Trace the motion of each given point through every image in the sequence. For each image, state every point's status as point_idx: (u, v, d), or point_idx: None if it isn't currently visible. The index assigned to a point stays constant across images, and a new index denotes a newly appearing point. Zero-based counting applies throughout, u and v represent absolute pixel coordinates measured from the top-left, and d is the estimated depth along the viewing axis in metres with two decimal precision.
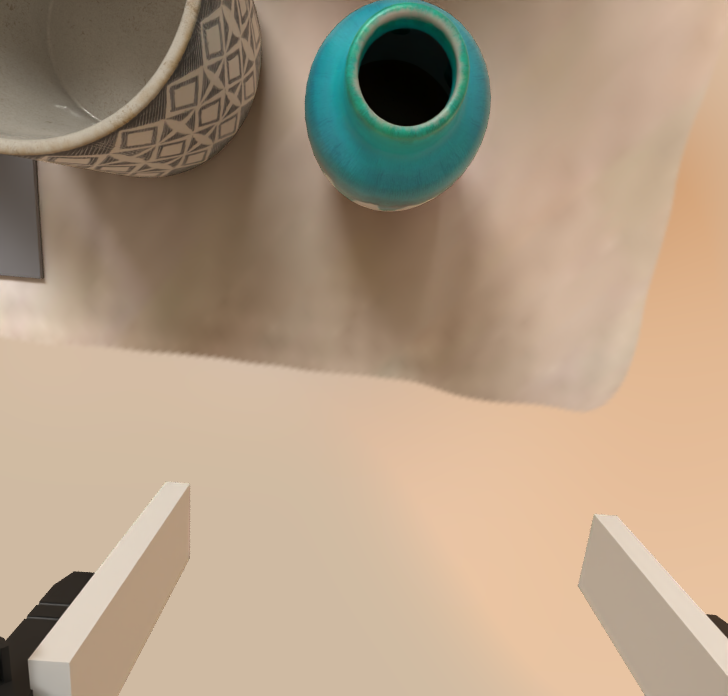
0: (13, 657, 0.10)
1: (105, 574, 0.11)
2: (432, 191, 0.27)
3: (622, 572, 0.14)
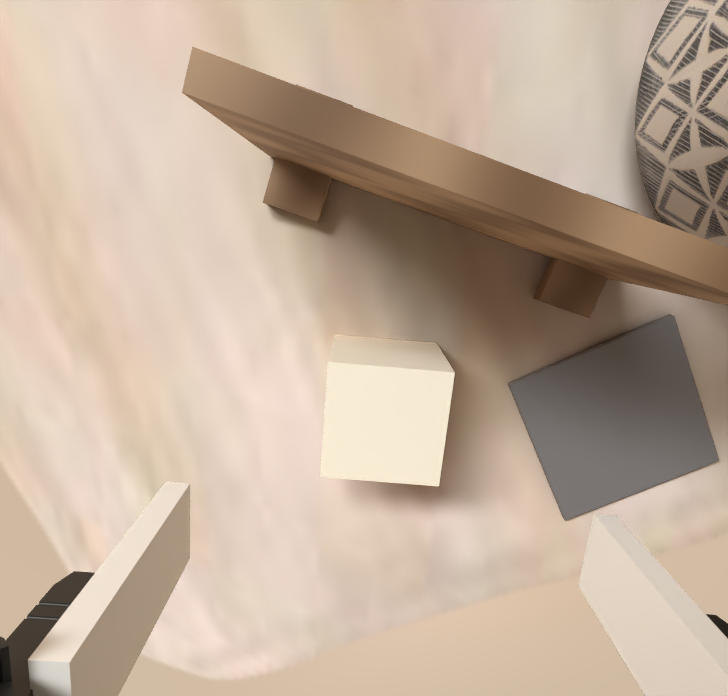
0: (14, 657, 0.10)
1: (105, 574, 0.11)
2: None
3: (622, 572, 0.14)
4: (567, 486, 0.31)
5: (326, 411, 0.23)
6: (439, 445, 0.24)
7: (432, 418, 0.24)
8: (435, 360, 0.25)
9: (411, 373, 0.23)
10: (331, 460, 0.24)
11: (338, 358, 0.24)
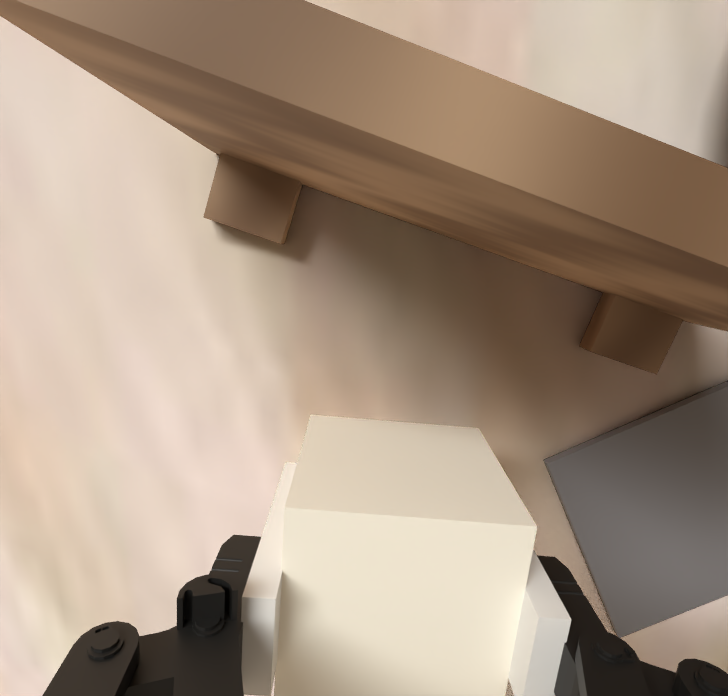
0: None
1: (271, 535, 0.13)
2: None
3: None
4: (622, 594, 0.23)
5: (283, 597, 0.12)
6: (502, 657, 0.12)
7: (490, 611, 0.12)
8: (489, 484, 0.13)
9: (451, 529, 0.12)
10: (294, 683, 0.13)
11: (306, 493, 0.12)
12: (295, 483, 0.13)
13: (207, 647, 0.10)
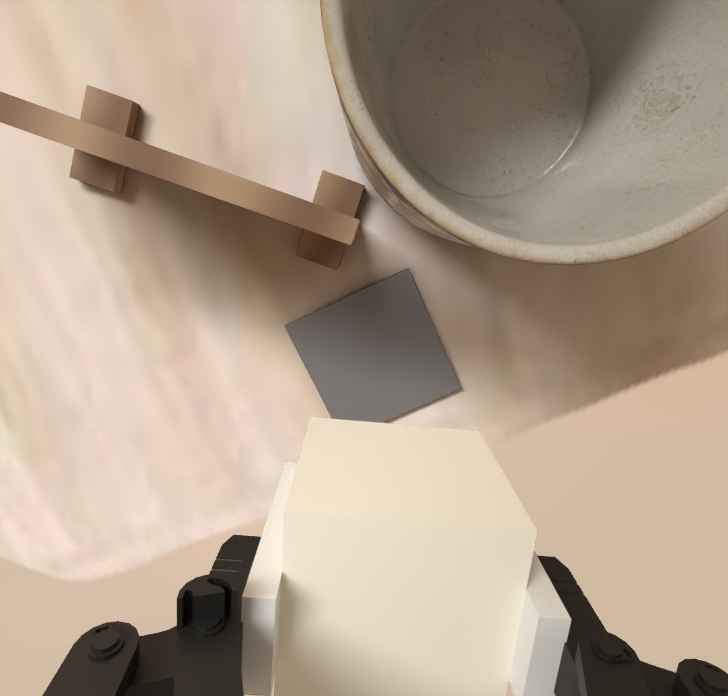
0: None
1: (271, 534, 0.13)
2: None
3: None
4: (341, 410, 0.38)
5: (283, 601, 0.12)
6: (503, 661, 0.12)
7: (491, 614, 0.12)
8: (489, 487, 0.13)
9: (451, 533, 0.12)
10: (294, 687, 0.13)
11: (306, 497, 0.12)
12: (295, 487, 0.13)
13: (207, 647, 0.10)
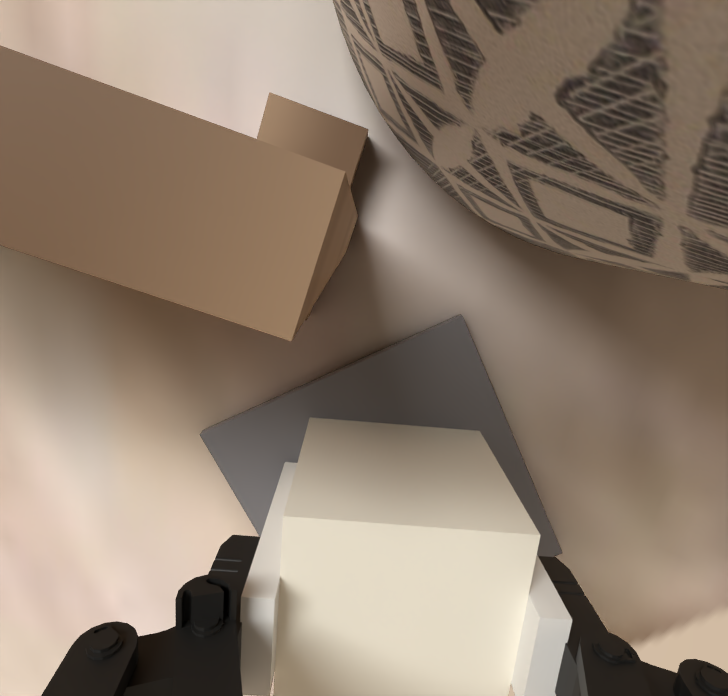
0: None
1: (270, 535, 0.13)
2: None
3: None
4: None
5: (282, 606, 0.12)
6: (504, 666, 0.12)
7: (492, 619, 0.12)
8: (491, 490, 0.13)
9: (452, 538, 0.11)
10: (294, 692, 0.12)
11: (305, 500, 0.12)
12: (294, 490, 0.12)
13: (206, 647, 0.10)
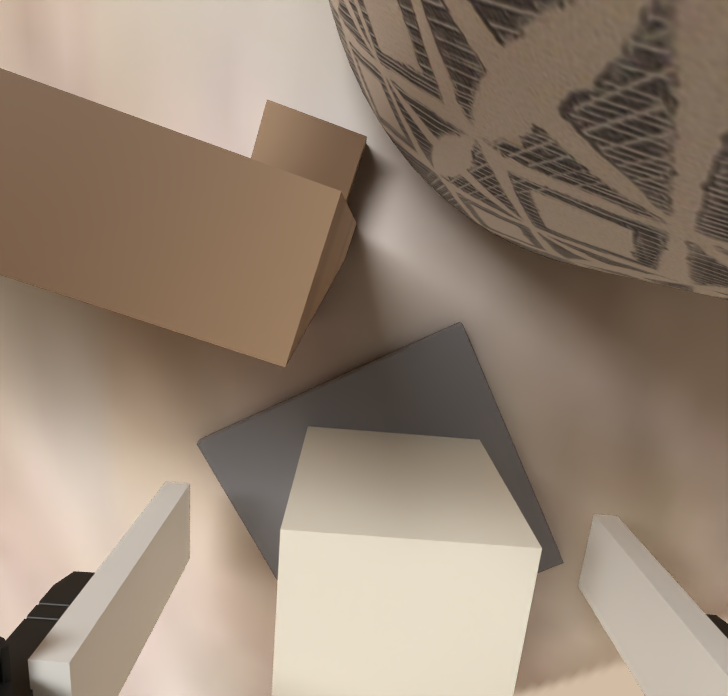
0: (14, 657, 0.10)
1: (105, 574, 0.11)
2: None
3: (622, 572, 0.14)
4: None
5: (279, 621, 0.12)
6: (505, 681, 0.12)
7: (493, 634, 0.12)
8: (492, 501, 0.13)
9: (453, 551, 0.11)
10: None
11: (303, 512, 0.12)
12: (292, 502, 0.12)
13: None
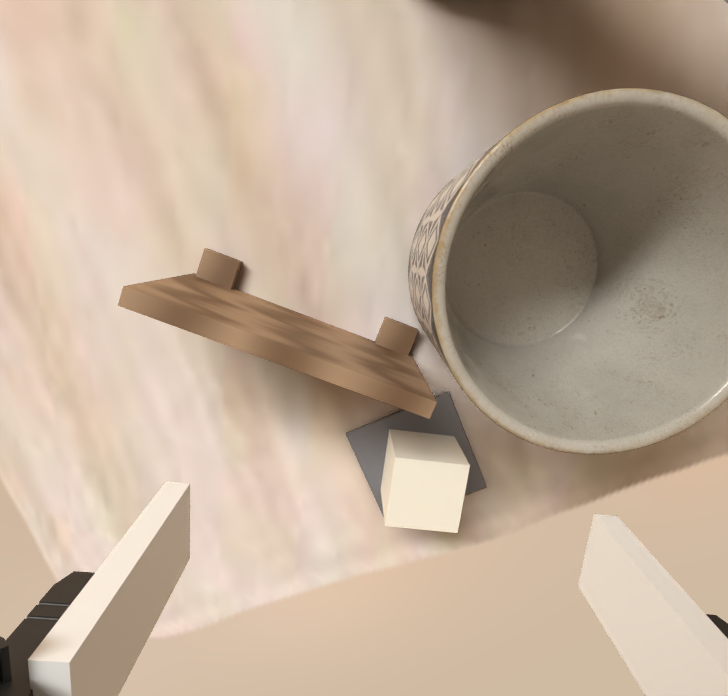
0: (13, 658, 0.10)
1: (105, 574, 0.11)
2: None
3: (622, 572, 0.14)
4: None
5: (391, 486, 0.39)
6: (458, 508, 0.39)
7: (455, 492, 0.39)
8: (456, 454, 0.40)
9: (444, 465, 0.39)
10: (392, 515, 0.39)
11: (399, 454, 0.39)
12: (395, 451, 0.39)
13: None
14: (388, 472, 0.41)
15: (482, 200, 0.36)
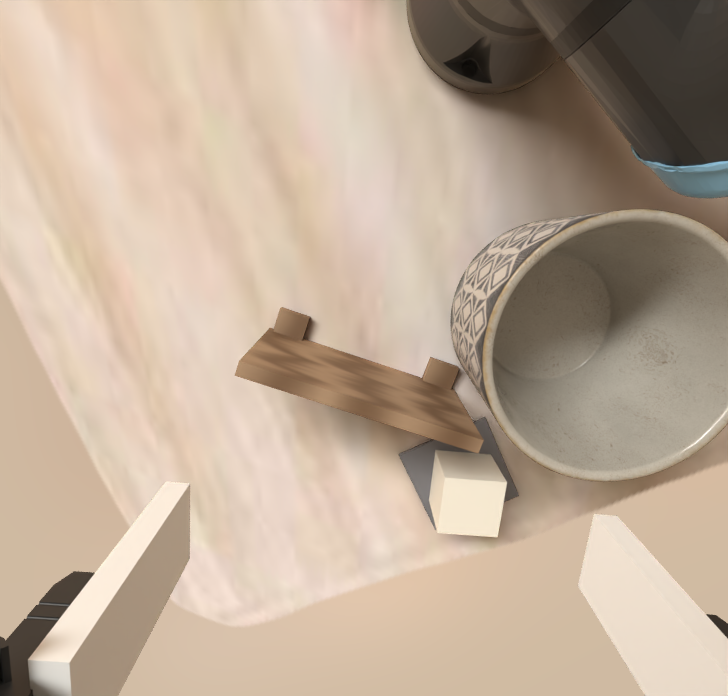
0: (14, 657, 0.10)
1: (105, 574, 0.11)
2: None
3: (622, 572, 0.14)
4: None
5: (442, 501, 0.47)
6: (498, 517, 0.47)
7: (495, 504, 0.47)
8: (495, 472, 0.48)
9: (485, 483, 0.47)
10: (443, 524, 0.48)
11: (448, 474, 0.47)
12: (443, 471, 0.48)
13: None
14: (437, 488, 0.49)
15: None
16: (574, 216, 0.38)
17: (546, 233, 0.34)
